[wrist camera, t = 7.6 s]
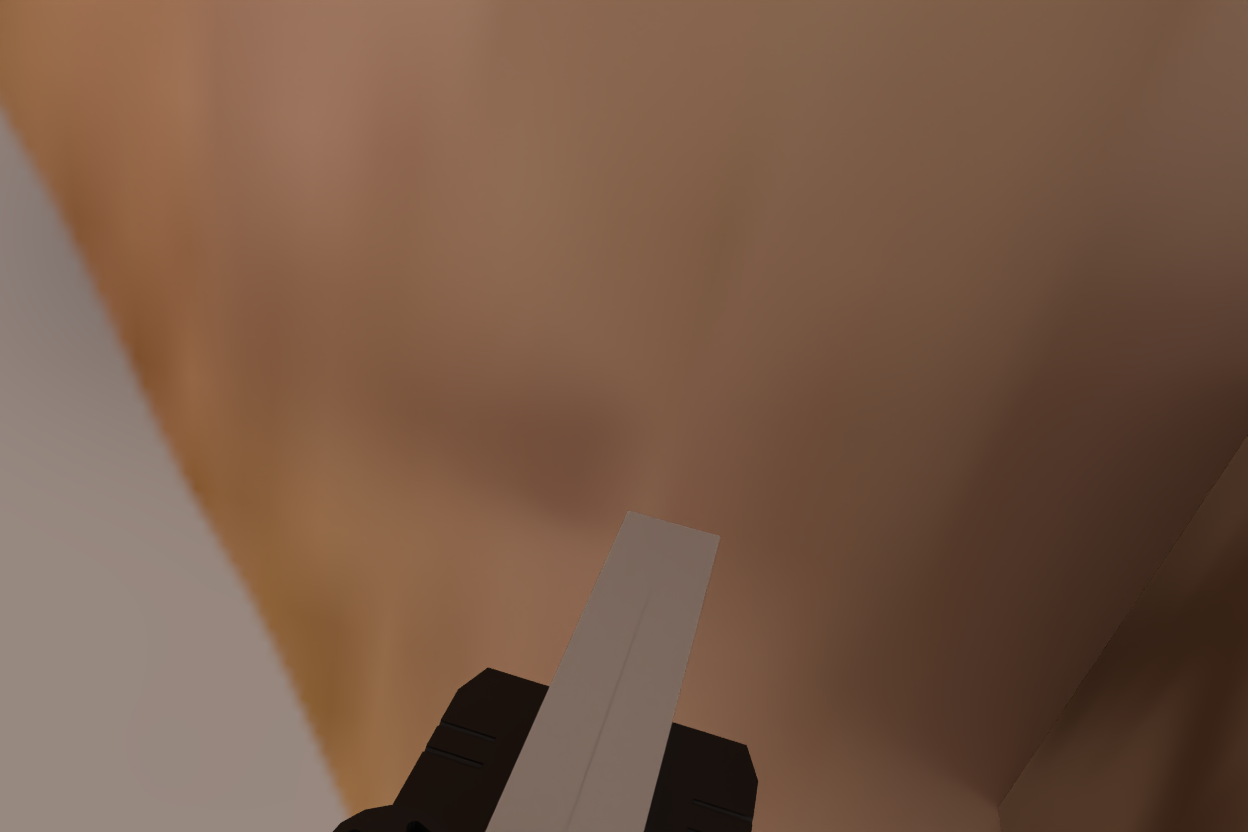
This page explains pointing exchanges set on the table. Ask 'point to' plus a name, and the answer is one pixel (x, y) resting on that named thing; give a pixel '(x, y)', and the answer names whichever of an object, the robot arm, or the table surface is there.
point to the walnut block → (1160, 698)
